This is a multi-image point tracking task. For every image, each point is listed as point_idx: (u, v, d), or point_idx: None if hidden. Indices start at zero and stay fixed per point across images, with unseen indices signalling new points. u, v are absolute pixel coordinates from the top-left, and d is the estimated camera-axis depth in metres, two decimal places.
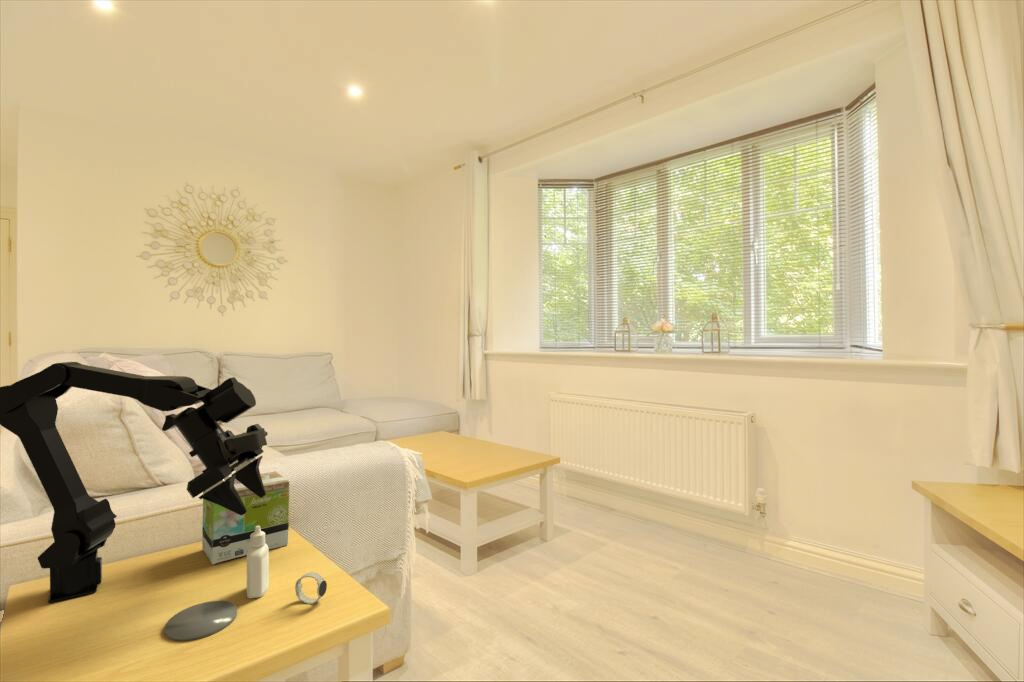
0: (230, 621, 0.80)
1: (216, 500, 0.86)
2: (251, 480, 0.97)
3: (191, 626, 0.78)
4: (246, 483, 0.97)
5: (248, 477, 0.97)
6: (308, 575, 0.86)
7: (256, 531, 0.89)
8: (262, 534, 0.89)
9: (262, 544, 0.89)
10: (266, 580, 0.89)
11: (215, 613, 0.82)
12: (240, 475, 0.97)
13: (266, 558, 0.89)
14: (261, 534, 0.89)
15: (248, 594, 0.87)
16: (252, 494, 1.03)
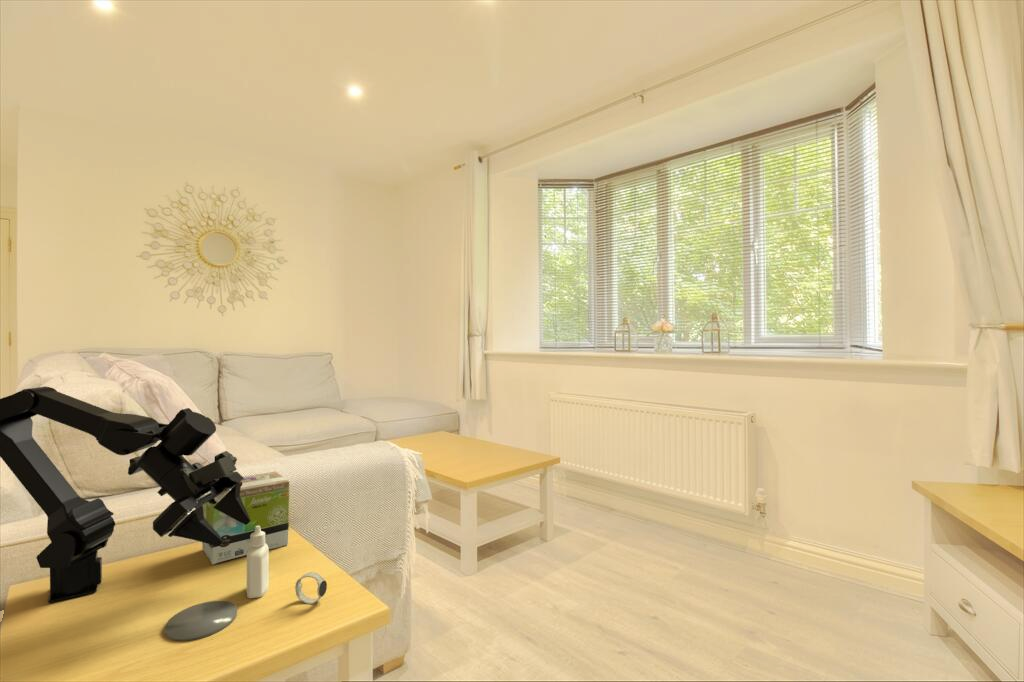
0: (230, 621, 0.80)
1: (188, 535, 0.83)
2: (233, 509, 0.94)
3: (191, 626, 0.78)
4: (229, 513, 0.94)
5: (230, 506, 0.94)
6: (308, 575, 0.86)
7: (256, 531, 0.89)
8: (262, 534, 0.89)
9: (262, 544, 0.89)
10: (266, 580, 0.89)
11: (215, 613, 0.82)
12: (222, 506, 0.94)
13: (266, 558, 0.89)
14: (261, 534, 0.89)
15: (248, 594, 0.87)
16: (252, 494, 1.03)
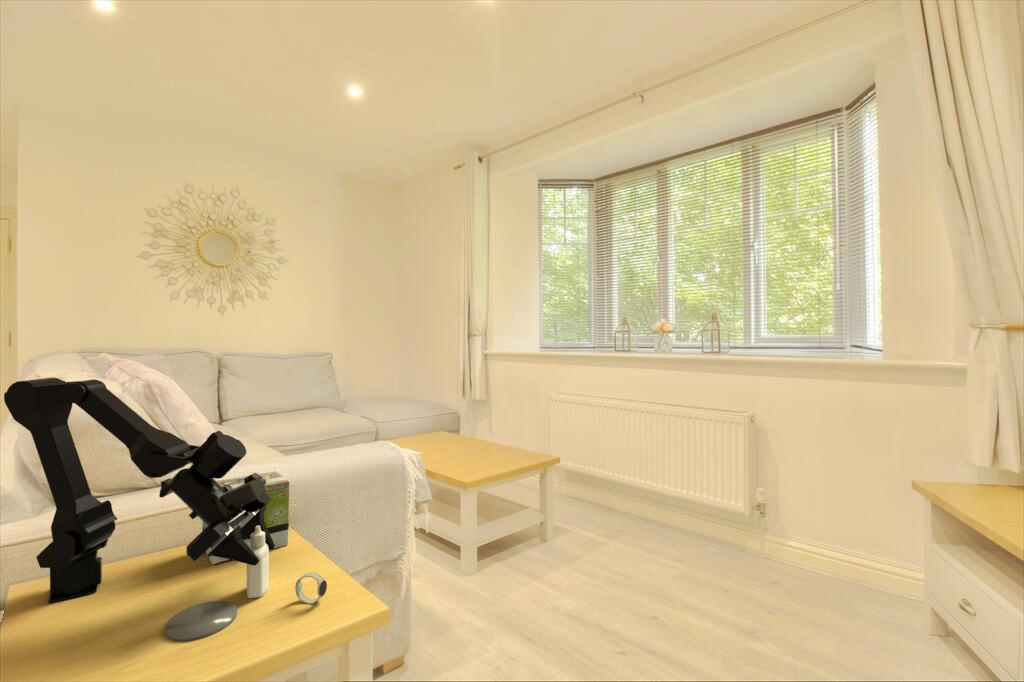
0: (230, 621, 0.80)
1: (226, 555, 0.85)
2: None
3: (191, 626, 0.78)
4: None
5: (254, 531, 0.93)
6: (308, 575, 0.86)
7: (256, 531, 0.89)
8: (262, 534, 0.89)
9: (262, 544, 0.89)
10: (266, 580, 0.89)
11: (215, 613, 0.82)
12: (246, 530, 0.93)
13: (266, 558, 0.89)
14: (261, 534, 0.89)
15: (248, 594, 0.87)
16: None
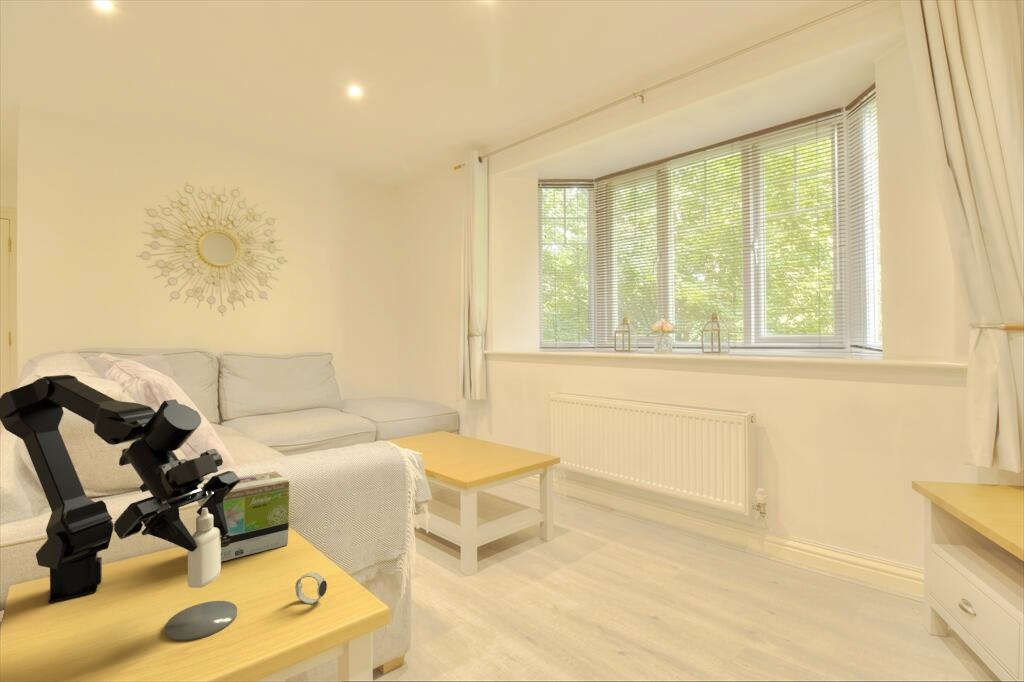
0: (230, 621, 0.80)
1: (163, 535, 0.77)
2: None
3: (191, 626, 0.78)
4: None
5: (210, 513, 0.84)
6: (308, 575, 0.86)
7: (202, 513, 0.80)
8: (207, 518, 0.80)
9: (207, 529, 0.80)
10: (210, 569, 0.80)
11: (215, 613, 0.82)
12: None
13: (210, 545, 0.80)
14: (206, 517, 0.80)
15: (188, 582, 0.78)
16: (252, 494, 1.03)
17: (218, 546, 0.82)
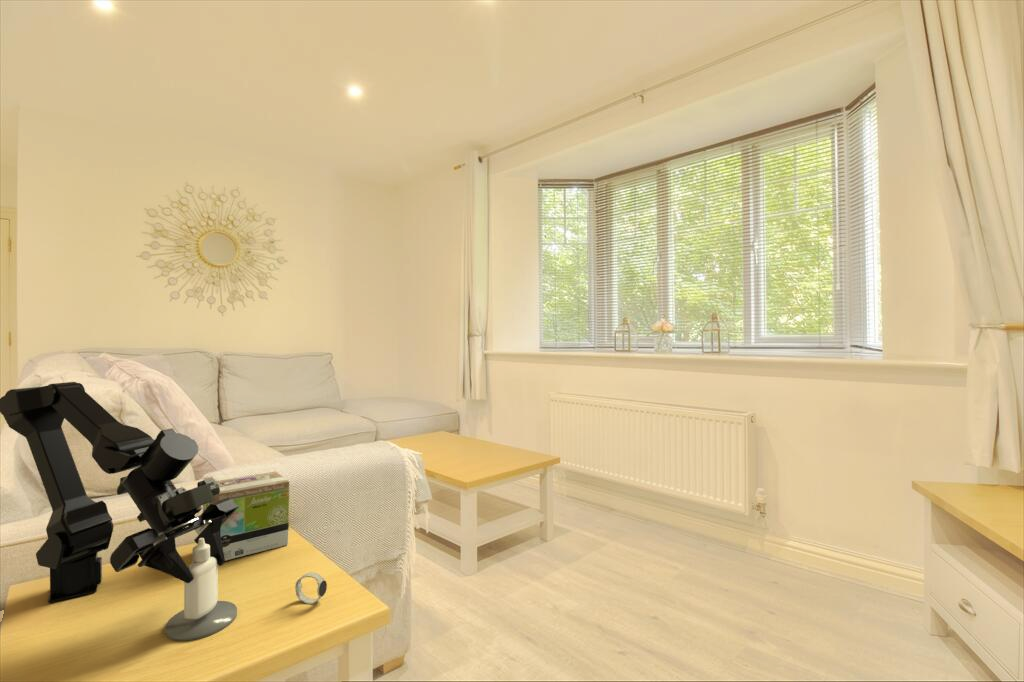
0: (230, 621, 0.80)
1: (159, 567, 0.77)
2: (210, 545, 0.84)
3: (191, 626, 0.78)
4: None
5: (207, 542, 0.84)
6: (308, 575, 0.86)
7: (198, 544, 0.80)
8: (204, 548, 0.80)
9: (203, 559, 0.80)
10: (207, 600, 0.79)
11: (215, 613, 0.82)
12: None
13: (207, 576, 0.79)
14: (203, 548, 0.80)
15: (184, 614, 0.78)
16: (252, 494, 1.03)
17: (215, 576, 0.81)
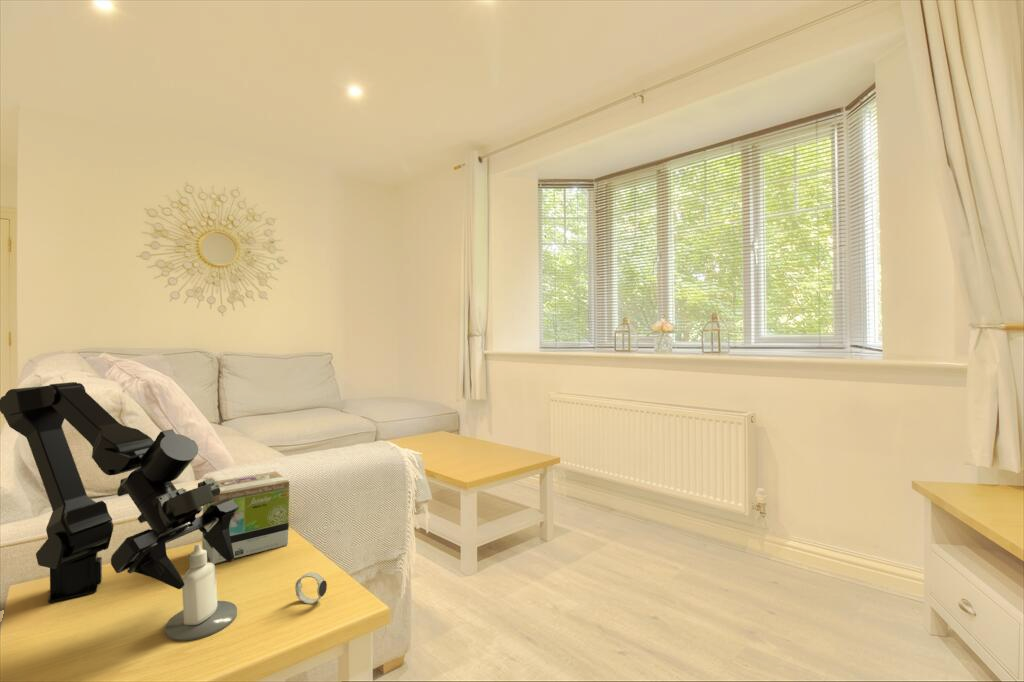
0: (230, 621, 0.80)
1: (149, 573, 0.75)
2: (219, 542, 0.85)
3: (191, 626, 0.78)
4: (215, 546, 0.85)
5: (216, 539, 0.85)
6: (308, 575, 0.86)
7: (195, 550, 0.80)
8: (200, 553, 0.80)
9: (201, 565, 0.80)
10: (206, 606, 0.80)
11: (215, 613, 0.82)
12: (210, 537, 0.86)
13: (205, 581, 0.79)
14: (199, 553, 0.80)
15: (184, 620, 0.78)
16: (252, 494, 1.03)
17: (213, 581, 0.82)
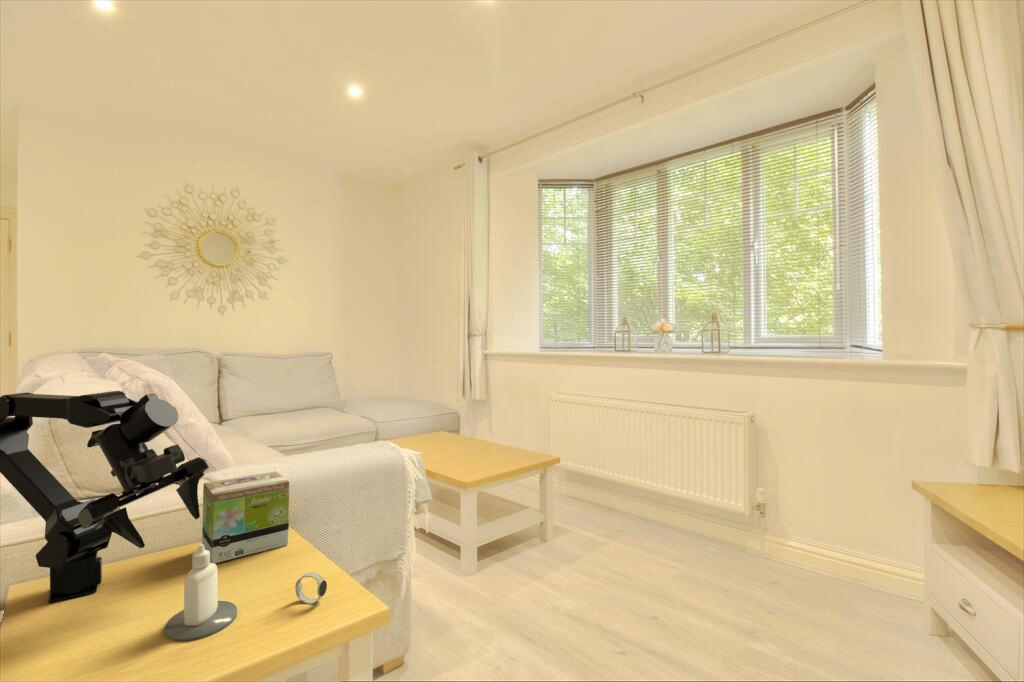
0: (230, 621, 0.80)
1: (114, 530, 0.81)
2: (187, 499, 0.90)
3: (191, 626, 0.78)
4: (185, 501, 0.91)
5: (185, 496, 0.90)
6: (308, 575, 0.86)
7: (198, 550, 0.80)
8: (204, 554, 0.80)
9: (203, 566, 0.80)
10: (207, 607, 0.80)
11: (215, 613, 0.82)
12: (181, 492, 0.91)
13: (207, 582, 0.79)
14: (203, 554, 0.80)
15: None
16: (252, 494, 1.03)
17: (215, 582, 0.82)
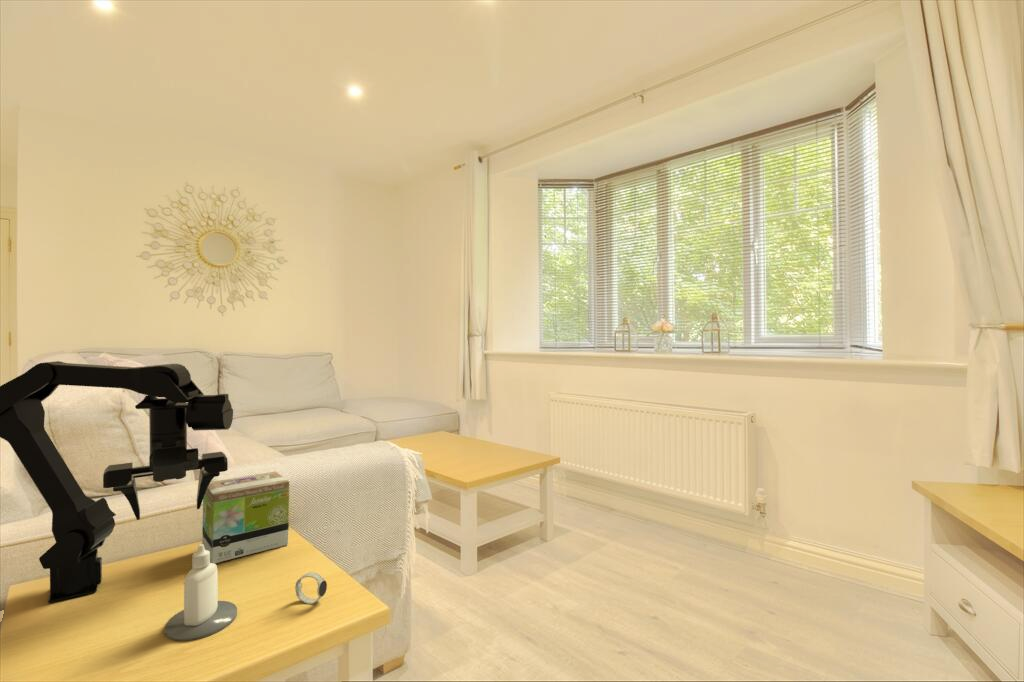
0: (230, 621, 0.80)
1: None
2: (198, 488, 0.95)
3: (191, 626, 0.78)
4: (198, 486, 0.96)
5: (199, 483, 0.95)
6: (308, 575, 0.86)
7: (198, 550, 0.80)
8: (204, 554, 0.80)
9: (203, 566, 0.80)
10: (207, 607, 0.80)
11: (215, 613, 0.82)
12: (199, 476, 0.96)
13: (207, 582, 0.79)
14: (203, 554, 0.80)
15: None
16: (252, 494, 1.03)
17: (215, 582, 0.82)
